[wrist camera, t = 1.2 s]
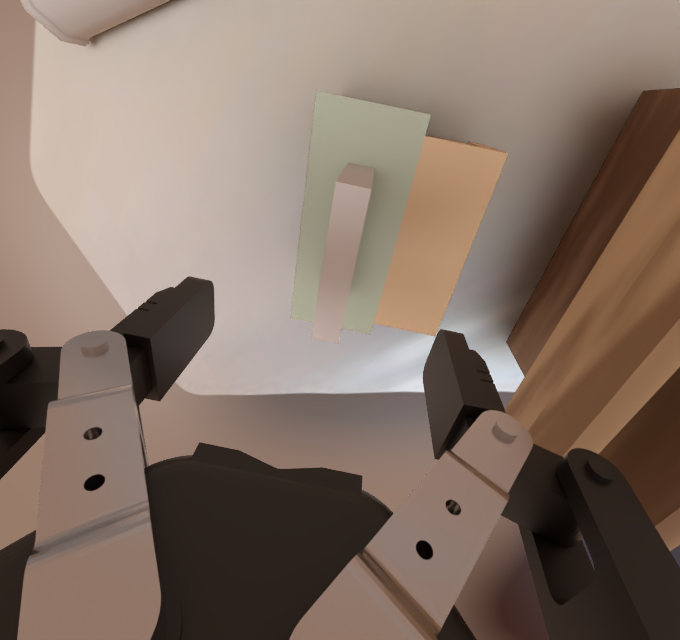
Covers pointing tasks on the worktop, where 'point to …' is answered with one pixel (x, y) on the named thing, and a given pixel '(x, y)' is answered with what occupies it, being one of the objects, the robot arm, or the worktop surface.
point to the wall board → (615, 319)
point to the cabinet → (385, 218)
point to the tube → (85, 16)
